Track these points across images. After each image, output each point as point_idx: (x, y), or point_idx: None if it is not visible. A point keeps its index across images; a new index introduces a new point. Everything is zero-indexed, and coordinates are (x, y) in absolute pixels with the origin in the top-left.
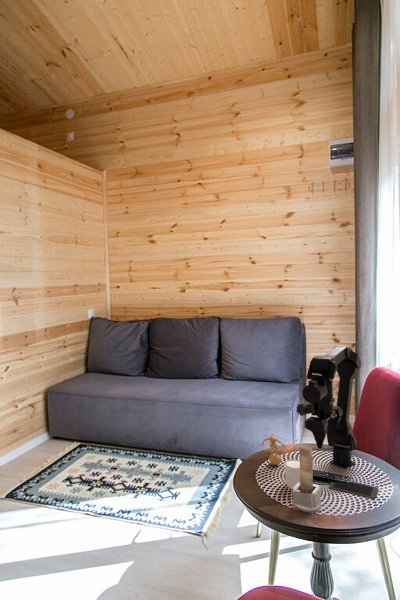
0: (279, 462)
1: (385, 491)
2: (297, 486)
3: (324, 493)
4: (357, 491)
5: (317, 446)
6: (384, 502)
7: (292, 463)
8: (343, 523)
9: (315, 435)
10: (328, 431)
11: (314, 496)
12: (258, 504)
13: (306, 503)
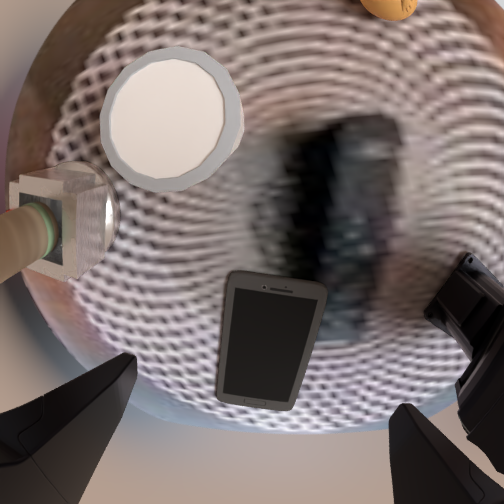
0: (378, 16)
1: (279, 420)
2: (34, 188)
3: (180, 259)
4: (238, 365)
5: (114, 358)
6: (211, 414)
7: (171, 97)
8: (58, 318)
9: (17, 429)
10: (420, 458)
11: None
12: (36, 66)
13: None
